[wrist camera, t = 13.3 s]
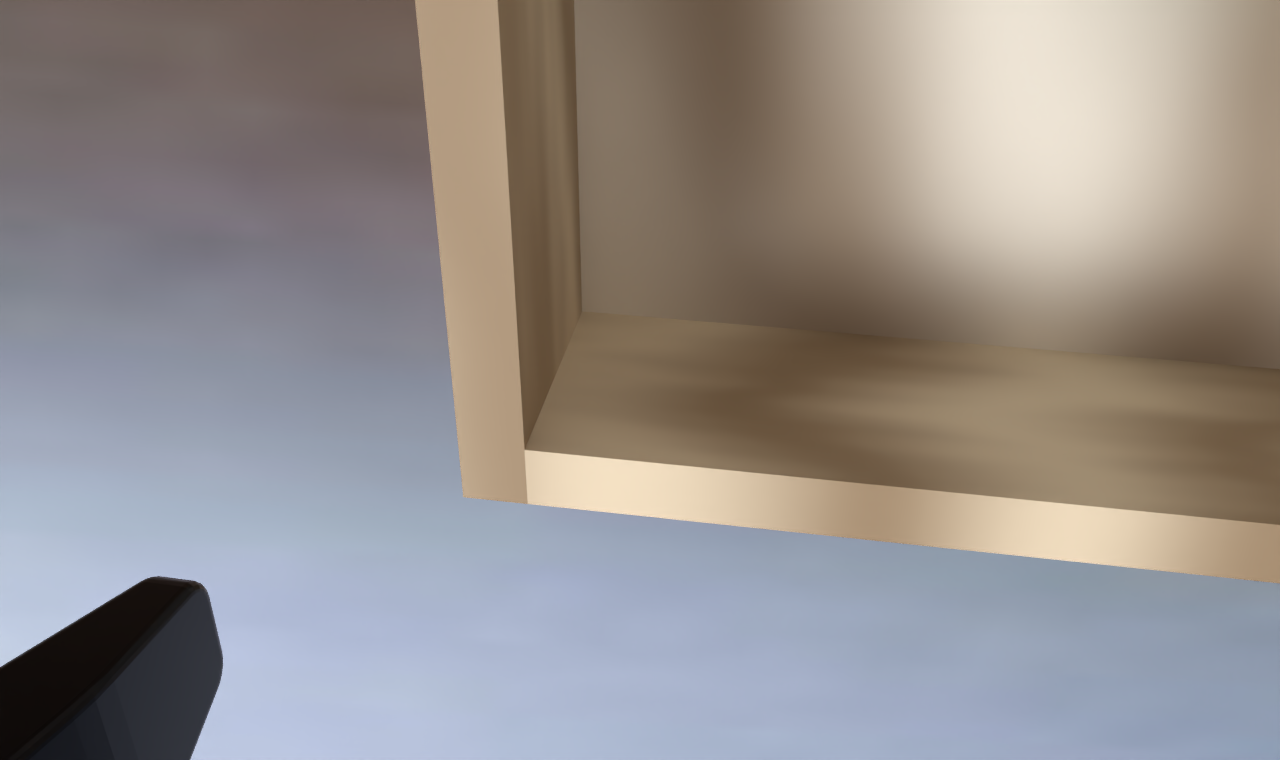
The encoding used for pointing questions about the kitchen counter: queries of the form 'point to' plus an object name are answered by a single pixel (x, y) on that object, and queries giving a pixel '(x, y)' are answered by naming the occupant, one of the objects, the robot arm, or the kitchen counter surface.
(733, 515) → the walled box
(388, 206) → the kitchen counter surface
